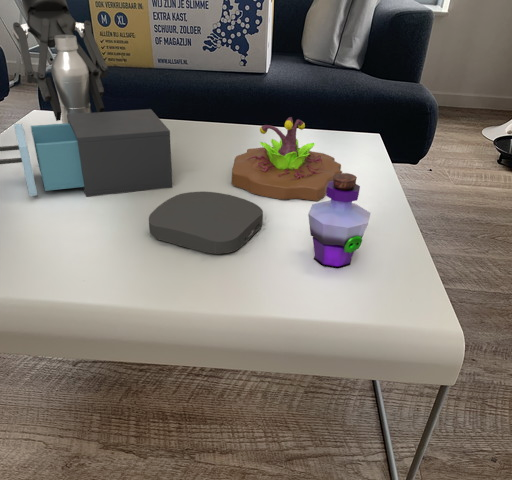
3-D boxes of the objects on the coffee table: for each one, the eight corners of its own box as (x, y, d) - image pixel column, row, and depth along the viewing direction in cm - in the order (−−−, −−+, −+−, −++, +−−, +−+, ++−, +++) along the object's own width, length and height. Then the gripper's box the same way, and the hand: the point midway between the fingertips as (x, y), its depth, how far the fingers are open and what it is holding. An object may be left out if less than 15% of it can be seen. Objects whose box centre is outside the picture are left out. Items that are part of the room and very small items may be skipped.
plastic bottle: (105, 149, 107) (90, 34, 95) (92, 161, 102) (75, 41, 89) (73, 146, 108) (55, 31, 95) (59, 158, 102) (38, 38, 90)
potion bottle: (344, 281, 72) (359, 195, 65) (290, 259, 76) (298, 176, 69) (373, 257, 78) (390, 175, 70) (322, 238, 82) (333, 159, 74)
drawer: (-5, 199, 85) (-18, 149, 80) (-7, 173, 93) (-19, 126, 88) (115, 187, 91) (109, 139, 86) (102, 163, 99) (97, 118, 94)
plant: (217, 191, 94) (217, 123, 87) (245, 154, 109) (247, 94, 102) (332, 207, 91) (342, 139, 84) (345, 167, 106) (354, 106, 99)
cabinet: (86, 196, 89) (77, 137, 83) (75, 169, 98) (66, 114, 92) (172, 187, 94) (169, 130, 88) (154, 162, 103) (151, 108, 97)
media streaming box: (139, 237, 79) (137, 218, 77) (189, 201, 90) (188, 183, 88) (229, 261, 75) (229, 241, 73) (270, 220, 86) (271, 202, 84)
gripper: (94, 9, 106) (130, 119, 105) (-16, 11, 97) (22, 131, 97) (98, -21, 99) (137, 97, 98) (-19, -21, 91) (22, 107, 90)
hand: (80, 114), depth 97 cm, fingers open, 7 cm apart
